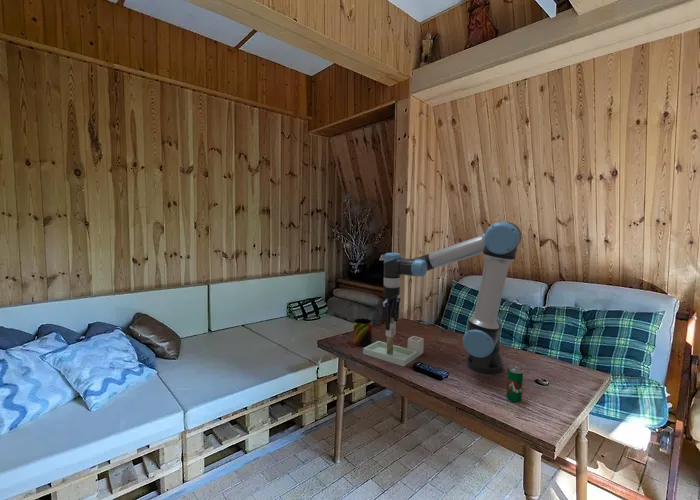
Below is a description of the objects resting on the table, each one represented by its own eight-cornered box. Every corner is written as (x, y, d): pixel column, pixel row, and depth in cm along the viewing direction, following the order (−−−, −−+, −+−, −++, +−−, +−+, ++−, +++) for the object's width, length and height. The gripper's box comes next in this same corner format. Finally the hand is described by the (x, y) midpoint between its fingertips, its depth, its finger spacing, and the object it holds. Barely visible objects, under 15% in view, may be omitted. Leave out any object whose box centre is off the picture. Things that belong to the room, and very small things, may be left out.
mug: (359, 336, 188) (359, 315, 187) (375, 344, 177) (375, 322, 176) (345, 340, 183) (345, 318, 182) (360, 348, 172) (361, 325, 171)
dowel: (394, 353, 161) (395, 318, 160) (391, 355, 159) (391, 319, 157) (388, 351, 163) (389, 316, 162) (385, 353, 161) (386, 318, 159)
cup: (423, 354, 165) (423, 338, 164) (417, 358, 160) (418, 341, 160) (412, 351, 168) (413, 335, 167) (407, 355, 164) (407, 339, 163)
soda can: (517, 395, 127) (518, 364, 126) (524, 403, 122) (526, 370, 121) (503, 395, 127) (505, 364, 126) (510, 403, 122) (512, 370, 121)
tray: (417, 358, 160) (417, 351, 159) (403, 368, 149) (404, 360, 149) (378, 347, 173) (378, 340, 173) (363, 355, 163) (363, 348, 163)
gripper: (393, 282, 167) (392, 329, 169) (375, 287, 154) (374, 338, 156) (407, 284, 162) (405, 332, 164) (389, 290, 150) (388, 342, 152)
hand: (390, 335), depth 160 cm, fingers closed on dowel, 3 cm apart
